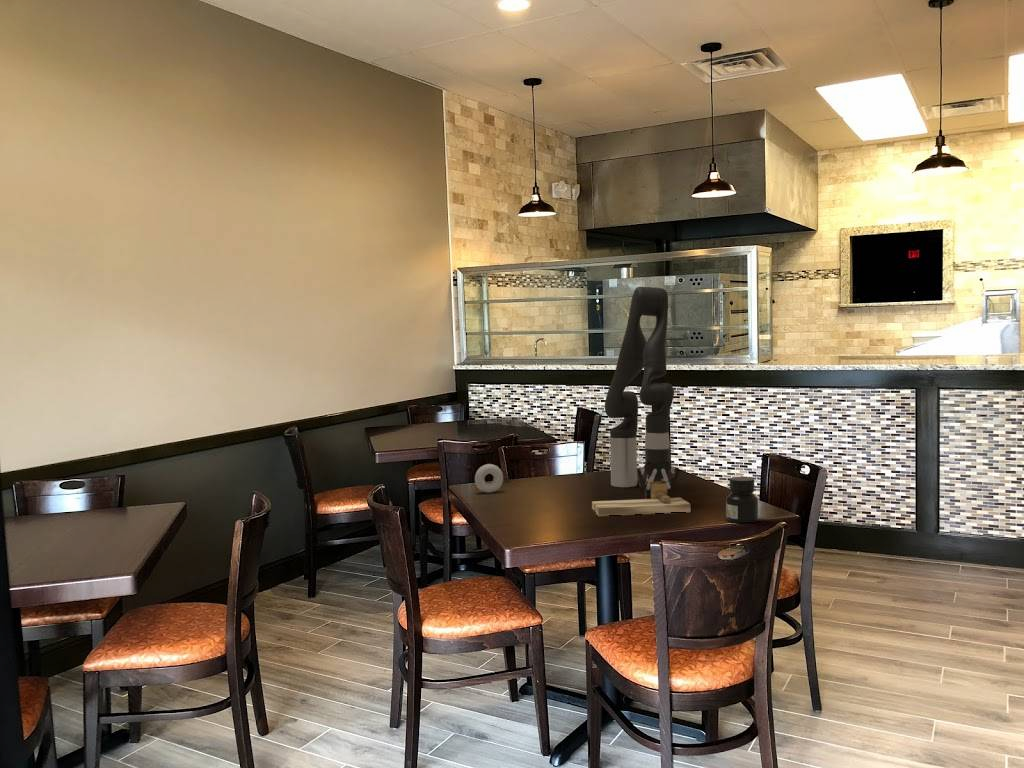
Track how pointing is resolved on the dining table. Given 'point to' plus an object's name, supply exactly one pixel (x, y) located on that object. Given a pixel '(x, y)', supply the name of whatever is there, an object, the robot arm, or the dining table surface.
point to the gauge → (659, 491)
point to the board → (639, 506)
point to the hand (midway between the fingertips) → (657, 500)
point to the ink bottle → (742, 501)
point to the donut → (481, 478)
